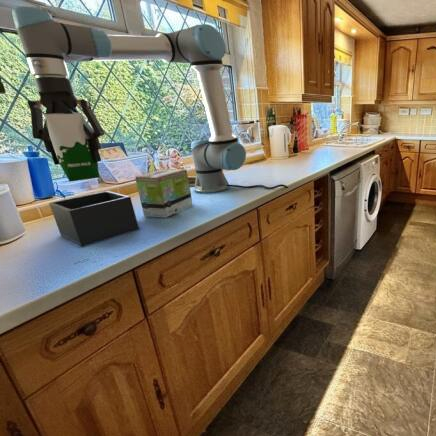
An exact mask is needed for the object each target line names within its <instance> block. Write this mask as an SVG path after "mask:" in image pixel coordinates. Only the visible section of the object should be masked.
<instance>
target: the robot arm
mask: <svg viewBox="0 0 436 436" xmlns="http://www.w3.org/2000/svg"><path fill="white" fill-rule="evenodd" d="M11 14H12V15H11V16H12V18H13V22H14V26H15V30H16V33H17V35H18V37H19V38H18V39H19V40H20V43H21V46H22V49H23V51H24V54H25V58H26V61H27V64H28V66H29V70H30V74H31V75H32V76H34V78H33V82H34V85H35V88H36V92H37V93H38V95H39V99H38V100H27V102H26V103H27V106H28V108H29V109H30V119H31V120H30V122H31V132H32V138H33V139H34V140H35V139H37V140H40V141H42V142H43V144H44V147H45V151H46V152H47V153H50V155H51V158H52V161H53V164H54V165H57V166H58V165H60V164H59V161H58V159H57V156H56V153H55V150H54V147H53V144H52V141H51V138H50V135H49V131H48V125H47V126H46V124H47V120H45V119H43V110H42V109H43V108H45V114H47V115H50V114H55V113H64V114H78V113H80V111H79V110H78V109H77V107H78V106H79V107H80V108H81V111H82V112H83V114H84V116H85V117H86V119H87V121H86V119H85V120H84V121H85V123H86V124H84V123H83V129H84V131H85V133H86V134H87V135H88V136H89V137H90V138H89V139H87V141H88V144H89V148H90V151H91V154H92V158H93V161H94V162H98V163H99V162H101V161H102V158H101V154H100V152H99V151H100V150H101V149H102V146H101V144H100V139H99V138H100V137H102V136H105V134H106V133H105V131H104V129H103V128H102V126H101V123H100V122H99V120H98V118H97V116H96V114H95V112H94V111H93V109H92V106H91V105H92V104H91V101H90V100H89V99H87V98H85V99H84V98H81V99H78V98H77V97H76V96H75V91H74V88H73V87H74V86H73V84H72V80H70V79H69V78H68V77H70V73H69V71H68V67H67V64H73V63H78V62H79V63H81V62H109V61H110V62H113V61H115V62H116V61H147V60H148V61H154V60H155V61H156V60H161V61H163V62H164V63H176V64H177V63H179V64H190V67H191V69H192V70H194V71H195V72H196V74H197V79H198V84H199V87H200V92H201V96H202V101H203V104H204V109H205V114H206V118H207V121H208V122H207V123H208V126H209V130H210V137H209V138H206V139H205V138H204V139H198V140H194V141H191V143H190V147H191V154H192V159H193V163H194V164H193V165H194V170H195V176H196V181H195V186H194V192H195V193H198V194H215V193H221V192H224V191H227V190H228V189H229V188H240V189H253V188H264V189H266V190H274V189H277V188H280V187H284V188H285V189H288V188H289V186H287V185H285V184H277V185H274V186H266V185H263V184H255V185H239V184H238V185H237V184H229V181H228V179H227V177H226V175H225V174H224V171H225V170H226V171H237V170H239V169H240V168H242V166H244V163H245V162H246V159H247V158H246V157H247V152H246V148H245V147H244V146H243V145H242V143H240V142H239V140H238V139H239V138H238V136H237V135H236V134H235V133H234V132H233V128H232V123H231V118H230V114H229V107H228V104H227V99H226V94H225V89H224V83H223V80H222V74H221V69H222V68H223V66H224V64H223V58H224V57H225V55H226V51H227V45H226V41H225V39H224V37H223V35H222V34H221V33H220V32H219V31H218V30H217V28H215V27H214V26H213V25H211V24H207V23H203V24H196V25H193V26H189V27H187V28H182V29H179V30H176V31H172V32H167V33H166V32H164V33H161V32H160V33H157V34H156V35H152V36H151V35H129V34H127V35H126V34H125V35H124V34H107V33H106V32H105V31H104V30H102V29H98V28H94V27H92V26H82V25H77V24H71V23H63V22H59V21H55V20H54V18H53V17H52V14H51V13H50V12H49V11H48V10H46V9H42V8H39V7H34V6H26V5H18V6H15V7H12V10H11ZM45 114H44V115H45ZM223 170H224V171H223Z"/></svg>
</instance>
